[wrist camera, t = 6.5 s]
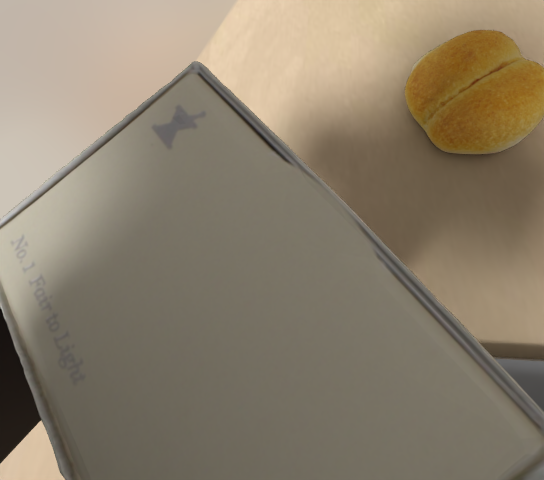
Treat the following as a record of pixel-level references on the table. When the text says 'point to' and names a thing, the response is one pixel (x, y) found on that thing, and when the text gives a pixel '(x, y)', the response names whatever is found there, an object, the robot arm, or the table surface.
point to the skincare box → (239, 318)
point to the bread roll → (476, 93)
